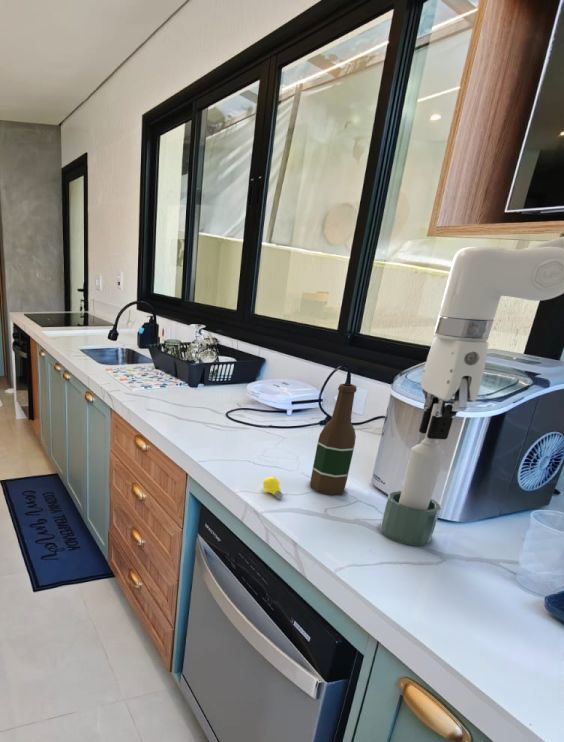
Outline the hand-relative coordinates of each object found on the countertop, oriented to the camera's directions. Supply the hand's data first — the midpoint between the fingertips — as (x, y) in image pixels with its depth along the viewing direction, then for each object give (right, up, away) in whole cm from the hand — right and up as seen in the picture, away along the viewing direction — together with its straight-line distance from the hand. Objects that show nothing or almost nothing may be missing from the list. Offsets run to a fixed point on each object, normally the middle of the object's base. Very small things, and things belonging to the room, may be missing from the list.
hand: (432, 435), depth 89 cm
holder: (-1, -19, +7) cm, 20 cm away
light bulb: (-21, -12, +22) cm, 33 cm away
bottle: (-1, -18, +7) cm, 20 cm away
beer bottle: (-8, -11, +26) cm, 29 cm away
